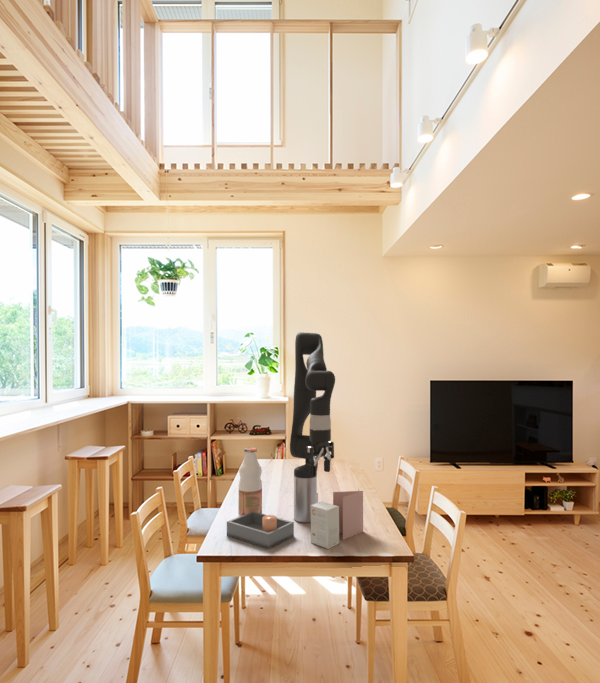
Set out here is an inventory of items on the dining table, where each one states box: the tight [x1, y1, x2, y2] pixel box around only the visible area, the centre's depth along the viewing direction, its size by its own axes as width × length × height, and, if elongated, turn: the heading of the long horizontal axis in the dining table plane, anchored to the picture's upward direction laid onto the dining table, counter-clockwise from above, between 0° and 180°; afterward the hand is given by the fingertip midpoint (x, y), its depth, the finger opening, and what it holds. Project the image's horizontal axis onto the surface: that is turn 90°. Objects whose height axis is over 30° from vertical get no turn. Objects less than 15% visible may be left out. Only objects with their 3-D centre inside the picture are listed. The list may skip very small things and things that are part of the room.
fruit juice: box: [237, 447, 263, 517], centre depth 182 cm, size 9×9×28 cm
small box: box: [310, 501, 340, 550], centre depth 158 cm, size 8×6×13 cm
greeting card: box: [332, 490, 364, 540], centre depth 165 cm, size 11×7×15 cm, turn 98°
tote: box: [226, 511, 295, 550], centre depth 164 cm, size 14×20×5 cm
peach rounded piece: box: [262, 514, 278, 533], centre depth 160 cm, size 5×5×7 cm
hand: (320, 474), depth 158 cm, fingers open, 8 cm apart
